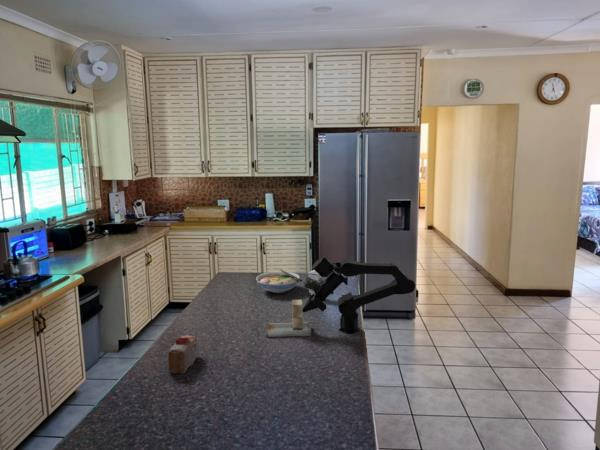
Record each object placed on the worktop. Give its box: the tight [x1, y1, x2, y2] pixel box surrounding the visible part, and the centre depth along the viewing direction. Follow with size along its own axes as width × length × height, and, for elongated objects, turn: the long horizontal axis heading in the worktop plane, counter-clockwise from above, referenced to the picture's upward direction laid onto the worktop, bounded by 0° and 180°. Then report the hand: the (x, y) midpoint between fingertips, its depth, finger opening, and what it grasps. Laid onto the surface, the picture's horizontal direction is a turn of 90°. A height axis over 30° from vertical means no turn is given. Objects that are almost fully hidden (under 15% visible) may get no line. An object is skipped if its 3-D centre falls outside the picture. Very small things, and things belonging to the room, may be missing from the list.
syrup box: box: [308, 269, 326, 293], centre depth 221 cm, size 6×6×14 cm
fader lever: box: [291, 299, 304, 329], centre depth 184 cm, size 4×6×11 cm
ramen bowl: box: [255, 268, 303, 294], centre depth 235 cm, size 25×23×8 cm
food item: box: [167, 334, 201, 374], centre depth 159 cm, size 14×8×10 cm, turn 175°
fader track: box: [265, 321, 312, 338], centre depth 185 cm, size 18×8×2 cm, turn 92°
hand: (302, 311), depth 183 cm, fingers closed, pressing on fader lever
